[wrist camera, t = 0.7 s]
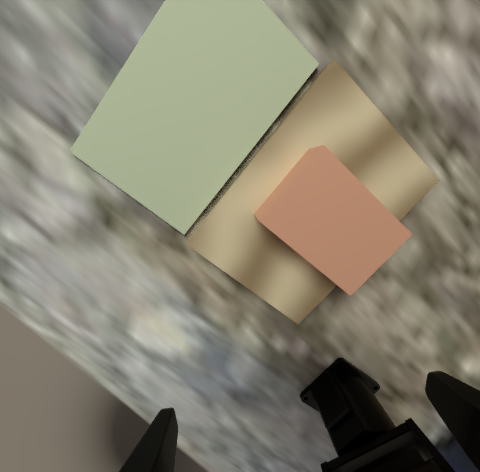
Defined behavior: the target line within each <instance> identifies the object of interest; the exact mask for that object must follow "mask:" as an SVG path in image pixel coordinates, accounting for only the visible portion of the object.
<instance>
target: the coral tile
mask: <svg viewBox="0 0 480 472" xmlns="http://www.w3.org/2000/svg"><path fill="white" fill-rule="evenodd" d="M254 215H255V216H256V218H257V219H258V220H259V221H260V222H261V223H262V224H263V225H264V226H266V227H267V228H268V229H269V230H270V231H272V232H273V233H274V234H275V235H277V236H278V237H279V238H280V239H281V240H283V241H284V242H285V243H286V244H288V245H289V246H290V247H291V248H292V249H294V250H295V251H296V252H297V253H299V254H300V255H301V256H302V257H303V258H305V259H306V260H307V261H308V262H310V263H311V264H312V265H313V266H314V267H316V268H317V269H318V270H319V271H321V272H322V273H323V274H324V275H325V276H327V277H328V278H329V279H330V280H332V281H333V282H334V283H335V284H336V285H338V286H339V287H340V288H341V289H343V290H344V291H345V292H346V293H347V294H349V295H350V296H351V295H352V294H353V293H354V292H355V291H356V290H357V289H358V288H359V287H360V286H361V285H362V284H363V283H364V282H365V281H366V280H367V279H368V278H369V277H370V276H371V275H372V274H373V273H374V272H375V271H376V270H377V269H378V268H379V267H380V266H381V265H382V264H383V263H384V262H385V261H386V260H387V259H388V258H389V257H390V256H391V255H392V254H393V253H394V252H395V251H396V250H397V249H398V248H399V247H400V246H401V245H402V244H403V243H404V242H405V241H406V240H407V239H408V238H409V237H410V236H411V235H412V234H411V233H410V232H409V231H408V230H407V229H406V228H405V227H404V226H403V225H402V224H401V223H400V221H399V220H398V219H397V218H396V217H395V216H394V215H393V214H392V213H391V212H390V211H389V210H388V209H387V208H386V207H385V206H384V205H383V204H382V203H381V202H380V201H379V200H378V199H377V198H376V197H375V196H374V195H373V194H372V193H371V192H370V191H369V190H368V189H367V188H366V187H365V186H364V185H363V184H362V183H361V182H360V181H359V180H358V179H357V178H356V177H355V176H354V175H353V174H352V173H351V172H350V171H349V170H348V169H347V168H346V167H345V166H344V165H343V164H342V163H341V162H340V161H339V160H338V159H337V158H336V157H335V156H334V155H333V154H332V153H331V152H330V151H329V150H328V149H327V148H326V146H325V145H322V146H318V147H314V148H310V149H308V150H307V151H306V152H305V154H304V155H303V156H302V157H301V158H300V160H299V161H298V162H297V163H296V164H295V166H294V167H293V168H292V169H291V170H290V172H289V173H288V174H287V175H286V176H285V177H284V179H283V180H282V181H281V182H280V183H279V185H278V186H277V187H276V188H275V189H274V191H273V192H272V193H271V194H270V195H269V197H268V198H267V199H266V200H265V201H264V203H263V204H262V205H261V206H260V207H259V208H258V210H257V211H256V212H255V213H254Z"/></svg>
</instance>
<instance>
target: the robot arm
mask: <svg viewBox="0 0 480 472" xmlns="http://www.w3.org/2000/svg"><path fill="white" fill-rule="evenodd" d="M379 389H380V386H379V384H378V383H377V382H376V381H375V380H373V379H372V378H370V377H369V376H368V375H366V374H365V373H363V372H362V371H361V370H359V369H358V368H356V367H355V366H354V365H352V364H351V363H349V362H348V361H347V360H345V359H344V358H338V359H337V360H336V361H335V362H334V363H333V364H332V365H331V366H329V367H328V368H327V369H326V370H325V371H324V372H323V373H322V374H321V375H320V376H319V377H318V378H317V379H316V380H315V381H314V382H313V383H312V384H310V385H309V386H308V387H307V388H306V389H305V390H304V391H303V392H302V393H301V394H300V397H301V400H302V402H304V403H306V404H307V405H309V406H311V407H312V408H314V409H316V410H317V411H319V412H320V414H321V417H322V419H323V422H324V424H325V427H326V428H327V430H328V433H329V435H330V438H331V440H332V443H333V445H334V447H335V450H336V452H337V454H338V456H339V457H337V458H335V459H333V460H331V461H329V462H324V463H322V464H321V468H322V472H455V471H454V470H453V468H452V467H451V466H450V465H449V463H448V462H447V461H446V460H445V459H444V457H443V456H442V455H441V454H440V453H439V451H438V450H437V449H436V448H435V447H434V445H433V444H432V443H431V442H430V440H429V439H428V438H427V437H426V436H425V434H424V433H423V432H422V431H421V430H420V428H419V427H418V426H417V425H416V424H415V422H414V421H413V420H412V419H411V418H409V419H407V420H405V423H403V424H401V425H399V426H397V427H396V426H395V425H394V423H393V422H392V420H391V419H390V418H389V416H388V415H387V413H386V412H385V410H384V409H383V407H382V406H381V404H380V403H379V401H378V400H377V399H376V397H375V396H374V394H375V393H376V392H377V391H378V390H379ZM425 391H426V395H427V397H428V399H429V400H430V402H431V403H432V405H433V406H434V408H435V409H436V411H437V412H438V414H439V415H440V417H441V418H442V420H443V421H444V423H445V424H446V426H447V427H448V429H449V430H450V432H451V433H452V435H453V436H454V438H455V439H456V440H457V442H458V443H459V445H460V446H461V448H462V449H463V450H464V452H465V453H466V454H467V456H468V457H469V458H470V460H471V461H472V462H473V464H474V465H475V466H476V468H477V469H478V470H479V471H480V391H479V390H477V389H475V388H473V387H471V386H469V385H468V384H466V383H464V382H462V381H460V380H458V379H456V378H454V377H452V376H450V375H448V374H446V373H444V372H442V371H435V372H429V373H428V375H427V381H426V388H425ZM177 437H178V424H177V420H176V415H175V411H174V408H165V409H162V410H160V412H159V413H158V414H157V416H156V417H155V419H154V420H153V422H152V423H151V425H150V426H149V428H148V429H147V431H146V432H145V434H144V435H143V437H142V438H141V440H140V441H139V442H138V444H137V445H136V447H135V448H134V450H133V451H132V453H131V454H130V456H129V457H128V459H127V460H126V462H125V463H124V465H123V466H122V468H121V469H120V471H119V472H174V466H175V456H176V447H177Z"/></svg>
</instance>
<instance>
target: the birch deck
mask: <svg viewBox="0 0 480 472" xmlns="http://www.w3.org/2000/svg"><path fill="white" fill-rule="evenodd" d="M322 145H325V146H326V148H327V149H328V150H329V151H330V152H331V153H332V154H333V155H334V156H335V157H336V158H337V159H338V160H339V161H340V162H341V163H342V164H343V165H344V166H345V167H346V168H347V169H348V170H349V171H350V172H351V173H352V174H353V175H354V176H355V177H356V178H357V179H358V180H359V181H360V182H361V183H362V184H363V185H364V186H365V187H366V188H367V189H368V190H369V191H370V192H371V193H372V194H373V195H374V196H375V197H376V198H377V199H378V200H379V201H380V202H381V203H382V204H383V205H384V206H385V207H386V208H387V209H388V210H389V211H390V212H391V213H392V214H393V215H394V216H395V217H396V218H397V219H398V220H399V221H400V220H401V219H402V218H403V217H404V216H405V215H406V214H407V213H408V212H409V211H410V210H411V209H412V208H413V207H414V206H415V205H416V204H417V203H418V202H419V201H420V200H421V199H422V198H423V197H424V196H425V195H426V194H427V193H428V192H429V191H430V190H431V188H432V187H433V186H434V185H435V184H436V183H437V182H438V181H439V180H438V178H437V177H436V176H435V175H434V174H433V173H432V172H431V170H430V169H429V168H428V167H427V166H426V165H425V163H424V162H423V161H422V160H421V159H420V158H419V156H418V155H417V154H416V153H415V152H414V151H413V149H412V148H411V147H410V146H409V145H408V144H407V142H406V141H405V140H404V139H403V138H402V137H401V135H400V134H399V133H398V132H397V131H396V130H395V129H394V127H393V126H392V125H391V124H390V123H389V122H388V120H387V119H386V118H385V117H384V116H383V115H382V113H381V112H380V111H379V110H378V109H377V108H376V106H375V105H374V104H373V103H372V102H371V101H370V99H369V98H368V97H367V96H366V95H365V94H364V93H363V91H362V90H361V89H360V88H359V87H358V86H357V84H356V83H355V82H354V81H353V80H352V79H351V77H350V76H349V75H348V74H347V73H346V72H345V70H344V69H343V68H342V67H341V66H340V65H339V63H338V62H337V61H336V60H335V59H334V60H333V61H332V62H331V63H330V64H329V65H328V66H327V67H326V68H325V69H324V70H323V71H322V72H321V73H320V74H319V76H318V77H317V78H316V79H315V81H314V82H313V83H312V84H311V86H310V87H309V88H308V90H307V91H306V92H305V93H304V95H303V96H302V97H301V98H300V100H299V101H298V102H297V103H296V105H295V106H294V107H293V108H292V110H291V111H290V112H289V113H288V115H287V116H286V117H285V118H284V120H283V121H282V122H281V123H280V125H279V126H278V127H277V128H276V130H275V131H274V132H273V133H272V135H271V136H270V137H269V138H268V140H267V141H266V142H265V143H264V145H263V146H262V147H261V148H260V150H259V151H258V152H257V153H256V155H255V156H254V157H253V158H252V160H251V161H250V162H249V164H248V165H247V166H246V167H245V169H244V170H243V171H242V172H241V174H240V175H239V176H238V177H237V179H236V180H235V181H234V182H233V184H232V185H231V186H230V187H229V189H228V190H227V191H226V192H225V194H224V195H223V196H222V197H221V199H220V200H219V201H218V202H217V204H216V205H215V206H214V207H213V209H212V210H211V211H210V212H209V214H208V215H207V216H206V217H205V219H204V220H203V221H202V222H201V224H200V225H199V226H198V227H197V229H196V230H195V231H194V232H193V234H192V235H191V236H190V238H189V240H188V242H187V244H186V245H188V246H189V247H191V248H192V249H193V250H195V251H196V252H198V253H199V254H200V255H202V256H203V257H205V258H206V259H207V260H209V261H210V262H211V263H213V264H214V265H216V266H217V267H218V268H220V269H221V270H223V271H224V272H225V273H227V274H228V275H230V276H231V277H232V278H234V279H235V280H237V281H238V282H239V283H241V284H242V285H244V286H245V287H246V288H248V289H249V290H251V291H252V292H253V293H255V294H256V295H258V296H259V297H260V298H262V299H263V300H265V301H266V302H267V303H269V304H270V305H272V306H273V307H274V308H276V309H277V310H279V311H280V312H281V313H283V314H284V315H286V316H287V317H288V318H290V319H291V320H293V321H294V322H295V323H297V324H299V323H300V322H301V321H302V320H303V319H304V318H305V317H306V316H307V315H308V314H309V313H310V312H311V311H312V310H313V309H314V308H315V307H316V306H317V305H318V304H319V303H320V302H321V301H322V300H323V299H324V298H325V297H326V296H327V295H328V294H329V293H330V292H331V291H332V290H333V289H334V288H335V287H336V286H337V285H336V284H335V283H334V282H333V281H332V280H330V279H329V278H328V277H327V276H325V275H324V274H323V273H322V272H321V271H319V270H318V269H317V268H316V267H314V266H313V265H312V264H311V263H310V262H308V261H307V260H306V259H305V258H303V257H302V256H301V255H300V254H299V253H297V252H296V251H295V250H294V249H292V248H291V247H290V246H289V245H288V244H286V243H285V242H284V241H283V240H281V239H280V238H279V237H278V236H277V235H275V234H274V233H273V232H272V231H270V230H269V229H268V228H267V227H266V226H264V225H263V224H262V223H261V222H260V221H259V220H258V219H257V218H256V216H255V215H254V213H255V212H256V211H257V210H258V208H259V207H260V206H261V205H262V204H263V203H264V201H265V200H266V199H267V198H268V197H269V195H270V194H271V193H272V192H273V191H274V189H275V188H276V187H277V186H278V185H279V183H280V182H281V181H282V180H283V179H284V177H285V176H286V175H287V174H288V173H289V172H290V170H291V169H292V168H293V167H294V166H295V164H296V163H297V162H298V161H299V160H300V158H301V157H302V156H303V155H304V154H305V152H306V151H307V150H308V149H310V148H314V147H318V146H322Z"/></svg>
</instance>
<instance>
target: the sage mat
mask: <svg viewBox="0 0 480 472" xmlns="http://www.w3.org/2000/svg"><path fill="white" fill-rule="evenodd" d="M318 65H319V63H318V62H317V61H316V60H315V59H314V58H313V57H312V56H311V54H310V53H309V52H308V51H307V50H306V49H305V48H304V47H303V45H302V44H301V43H300V42H299V41H298V40H297V39H296V38H295V36H294V35H293V34H292V33H291V32H290V31H289V30H288V29H287V27H286V26H285V25H284V24H283V23H282V22H281V21H280V19H279V18H278V17H277V16H276V15H275V14H274V13H273V12H272V10H271V9H270V8H269V7H268V6H267V5H266V4H265V3H264V1H263V0H165V1H164V3H163V5H162V6H161V8H160V9H159V11H158V12H157V14H156V16H155V17H154V19H153V20H152V22H151V23H150V25H149V27H148V28H147V30H146V31H145V33H144V34H143V36H142V38H141V39H140V41H139V42H138V44H137V46H136V47H135V49H134V50H133V52H132V53H131V55H130V57H129V58H128V60H127V61H126V63H125V64H124V66H123V68H122V69H121V71H120V72H119V74H118V76H117V77H116V79H115V80H114V82H113V83H112V85H111V87H110V88H109V90H108V91H107V93H106V94H105V96H104V98H103V99H102V101H101V102H100V104H99V105H98V107H97V109H96V110H95V112H94V113H93V115H92V117H91V118H90V120H89V121H88V123H87V124H86V126H85V128H84V129H83V131H82V132H81V134H80V135H79V137H78V139H77V140H76V142H75V143H74V145H73V146H72V148H71V150H70V151H69V152H71V153H72V154H73V155H75V156H76V157H77V158H79V159H80V160H82V161H83V162H84V163H86V164H87V165H88V166H90V167H91V168H93V169H94V170H95V171H97V172H98V173H100V174H101V175H102V176H104V177H105V178H106V179H108V180H109V181H111V182H112V183H113V184H115V185H116V186H117V187H119V188H120V189H122V190H123V191H124V192H126V193H127V194H128V195H130V196H131V197H133V198H134V199H135V200H137V201H138V202H139V203H141V204H142V205H144V206H145V207H146V208H148V209H149V210H151V211H152V212H153V213H155V214H156V215H157V216H159V217H160V218H162V219H163V220H164V221H166V222H167V223H168V224H170V225H171V226H173V227H174V228H175V229H177V230H178V231H179V232H181V233H182V234H185V233H186V232H187V231H188V229H189V228H190V227H191V226H192V224H193V223H194V222H195V221H196V219H197V218H198V217H199V215H200V214H201V213H202V212H203V210H204V209H205V208H206V207H207V205H208V204H209V203H210V202H211V200H212V199H213V198H214V196H215V195H216V194H217V193H218V191H219V190H220V189H221V188H222V186H223V185H224V184H225V183H226V181H227V180H228V179H229V177H230V176H231V175H232V174H233V172H234V171H235V170H236V169H237V167H238V166H239V165H240V164H241V162H242V161H243V160H244V159H245V157H246V156H247V155H248V153H249V152H250V151H251V150H252V148H253V147H254V146H255V145H256V143H257V142H258V141H259V140H260V138H261V137H262V136H263V134H264V133H265V132H266V131H267V129H268V128H269V127H270V126H271V124H272V123H273V122H274V121H275V119H276V118H277V117H278V116H279V114H280V113H281V112H282V110H283V109H284V108H285V107H286V105H287V104H288V103H289V102H290V100H291V99H292V98H293V97H294V95H295V94H296V93H297V91H298V90H299V89H300V88H301V86H302V85H303V84H304V83H305V81H306V80H307V79H308V78H309V76H310V75H311V74H312V72H313V71H314V70H315V69H316V67H317V66H318Z"/></svg>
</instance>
